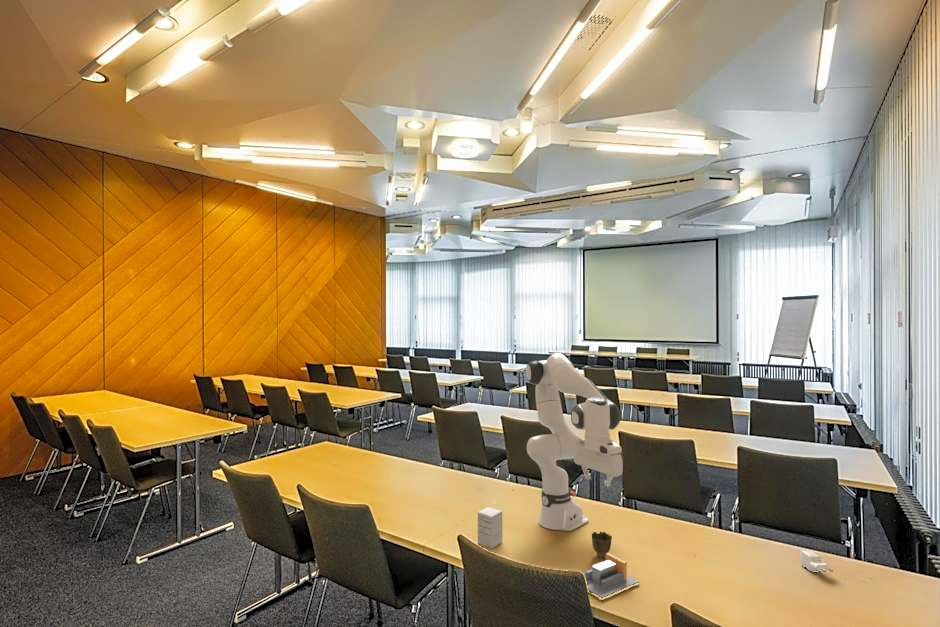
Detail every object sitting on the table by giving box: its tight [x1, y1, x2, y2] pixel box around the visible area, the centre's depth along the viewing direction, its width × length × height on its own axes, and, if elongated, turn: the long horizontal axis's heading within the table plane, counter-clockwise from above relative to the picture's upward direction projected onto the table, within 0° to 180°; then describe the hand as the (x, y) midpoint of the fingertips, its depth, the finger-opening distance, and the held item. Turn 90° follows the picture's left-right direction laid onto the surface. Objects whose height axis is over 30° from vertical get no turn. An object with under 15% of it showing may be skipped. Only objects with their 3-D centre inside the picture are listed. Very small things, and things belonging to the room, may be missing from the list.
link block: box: [591, 560, 616, 585], centre depth 171 cm, size 8×4×5 cm, turn 123°
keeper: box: [582, 552, 640, 598], centre depth 171 cm, size 18×14×7 cm
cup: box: [591, 531, 613, 559], centre depth 191 cm, size 8×7×8 cm
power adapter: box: [799, 549, 834, 573], centre depth 179 cm, size 11×5×6 cm, turn 6°
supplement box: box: [477, 506, 503, 549], centre depth 201 cm, size 7×7×13 cm
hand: (597, 482), depth 181 cm, fingers open, 8 cm apart
